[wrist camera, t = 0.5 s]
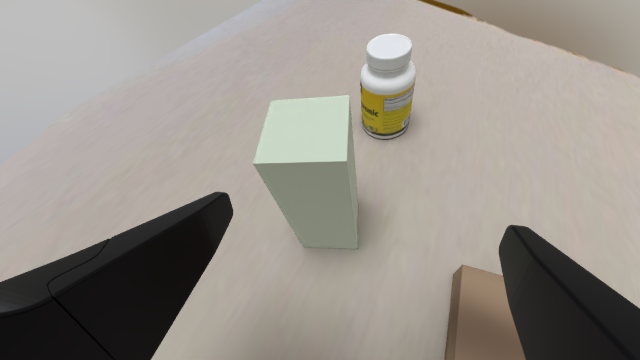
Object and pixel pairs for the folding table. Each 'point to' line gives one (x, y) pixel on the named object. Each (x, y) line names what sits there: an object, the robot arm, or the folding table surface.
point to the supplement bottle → (387, 86)
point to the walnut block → (480, 318)
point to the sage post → (312, 169)
